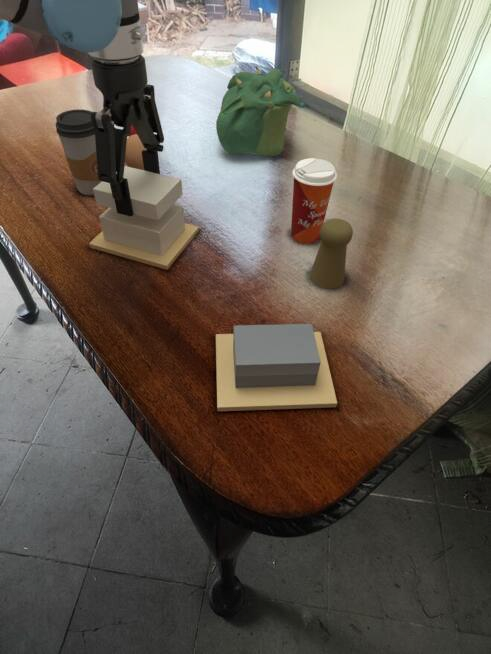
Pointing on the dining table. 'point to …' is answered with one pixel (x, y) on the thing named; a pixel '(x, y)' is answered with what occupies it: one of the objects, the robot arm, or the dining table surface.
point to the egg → (134, 152)
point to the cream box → (145, 236)
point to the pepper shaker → (331, 254)
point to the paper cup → (311, 198)
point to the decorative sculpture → (255, 113)
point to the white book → (144, 192)
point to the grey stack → (272, 368)
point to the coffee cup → (79, 148)
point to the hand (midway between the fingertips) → (140, 199)
